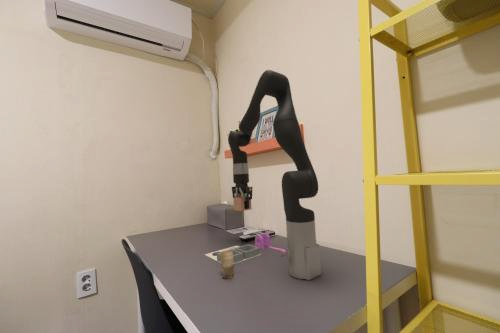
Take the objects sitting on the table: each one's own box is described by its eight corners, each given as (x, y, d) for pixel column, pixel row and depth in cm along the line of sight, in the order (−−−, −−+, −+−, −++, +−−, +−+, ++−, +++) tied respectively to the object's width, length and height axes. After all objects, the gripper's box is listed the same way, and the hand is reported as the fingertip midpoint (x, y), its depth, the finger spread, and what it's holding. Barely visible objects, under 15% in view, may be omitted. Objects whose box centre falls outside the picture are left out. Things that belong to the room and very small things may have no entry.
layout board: (261, 258, 91) (261, 247, 91) (227, 270, 81) (226, 258, 81) (236, 248, 104) (236, 239, 104) (204, 258, 94) (204, 248, 94)
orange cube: (251, 209, 110) (250, 196, 111) (241, 211, 107) (240, 197, 107) (244, 208, 115) (243, 196, 115) (234, 209, 111) (233, 197, 112)
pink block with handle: (255, 251, 100) (254, 235, 100) (263, 248, 104) (263, 232, 104) (280, 257, 91) (279, 239, 91) (288, 253, 95) (287, 236, 95)
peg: (236, 276, 75) (235, 251, 76) (226, 280, 73) (224, 255, 73) (229, 273, 79) (228, 249, 79) (219, 276, 76) (218, 252, 76)
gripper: (256, 172, 108) (258, 208, 108) (238, 173, 120) (240, 206, 119) (243, 172, 104) (245, 210, 103) (226, 174, 115) (227, 208, 114)
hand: (242, 208), depth 111 cm, fingers closed on orange cube, 6 cm apart
